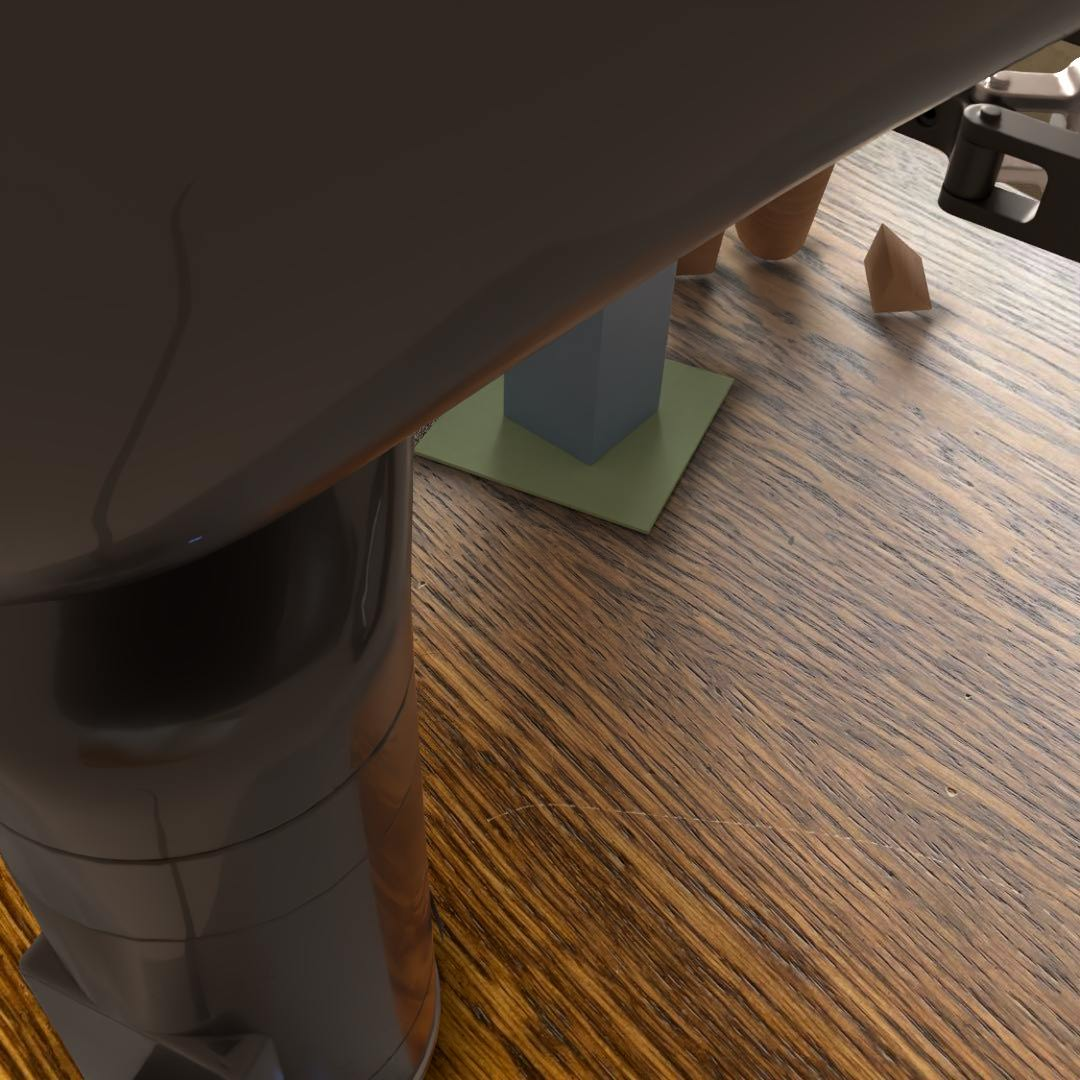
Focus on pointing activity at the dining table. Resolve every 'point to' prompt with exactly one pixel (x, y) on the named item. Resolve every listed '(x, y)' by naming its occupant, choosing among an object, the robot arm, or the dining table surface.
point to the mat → (551, 473)
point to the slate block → (597, 374)
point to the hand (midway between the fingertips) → (918, 13)
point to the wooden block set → (784, 233)
